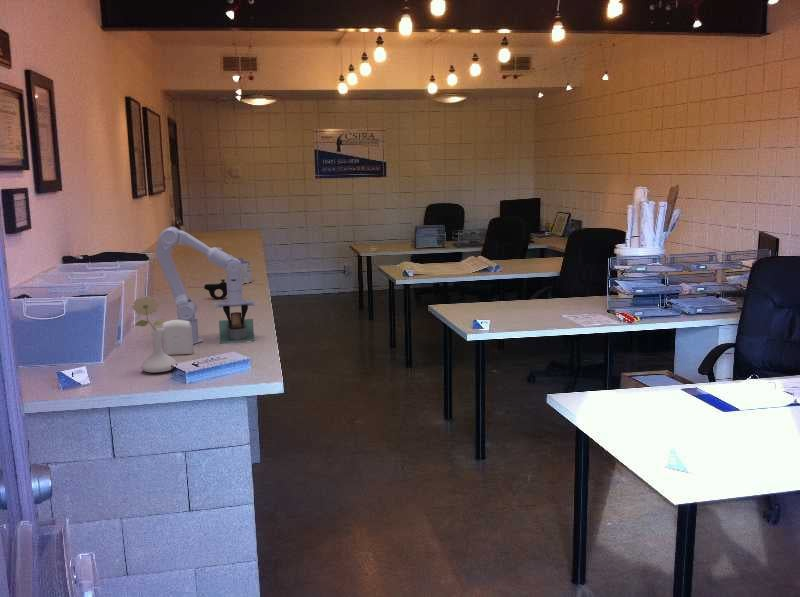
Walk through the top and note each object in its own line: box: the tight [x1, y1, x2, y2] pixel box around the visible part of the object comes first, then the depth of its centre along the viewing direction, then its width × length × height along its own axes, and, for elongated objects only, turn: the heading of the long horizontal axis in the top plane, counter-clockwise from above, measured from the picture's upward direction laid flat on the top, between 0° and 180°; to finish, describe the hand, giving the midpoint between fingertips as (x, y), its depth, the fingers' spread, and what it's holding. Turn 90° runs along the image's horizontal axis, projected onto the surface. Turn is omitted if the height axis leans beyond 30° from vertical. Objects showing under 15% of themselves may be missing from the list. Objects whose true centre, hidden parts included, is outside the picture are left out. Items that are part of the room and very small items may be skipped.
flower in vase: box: [131, 295, 178, 373], centre depth 237 cm, size 13×11×25 cm
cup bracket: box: [218, 318, 256, 345], centre depth 282 cm, size 10×13×7 cm
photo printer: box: [161, 319, 194, 356], centre depth 260 cm, size 10×4×12 cm, turn 96°
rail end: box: [230, 311, 242, 329], centre depth 280 cm, size 4×4×8 cm
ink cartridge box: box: [237, 257, 253, 285], centre depth 419 cm, size 10×6×14 cm, turn 148°
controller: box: [203, 278, 227, 300], centre depth 369 cm, size 4×12×10 cm, turn 100°
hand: (236, 325), depth 280 cm, fingers closed on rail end, 4 cm apart
